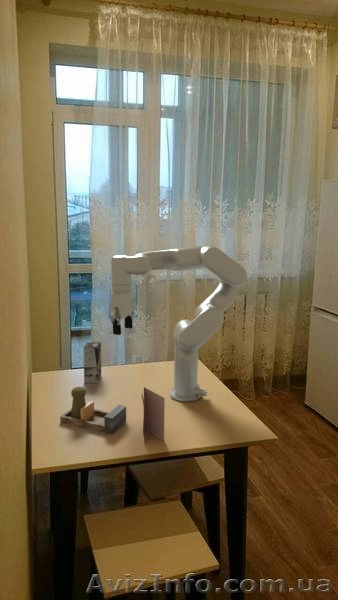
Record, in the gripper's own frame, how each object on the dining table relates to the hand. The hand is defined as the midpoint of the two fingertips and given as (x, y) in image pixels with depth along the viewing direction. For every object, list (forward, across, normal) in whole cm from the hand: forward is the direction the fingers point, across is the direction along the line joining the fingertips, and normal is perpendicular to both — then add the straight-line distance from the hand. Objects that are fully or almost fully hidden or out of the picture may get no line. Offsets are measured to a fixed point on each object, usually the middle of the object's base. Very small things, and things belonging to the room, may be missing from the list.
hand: (123, 331), depth 169 cm
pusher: (+27, +23, -3) cm, 35 cm away
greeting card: (+28, +23, +22) cm, 43 cm away
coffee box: (+28, -13, -22) cm, 38 cm away
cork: (+27, +23, -7) cm, 36 cm away
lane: (+28, +23, -1) cm, 36 cm away
